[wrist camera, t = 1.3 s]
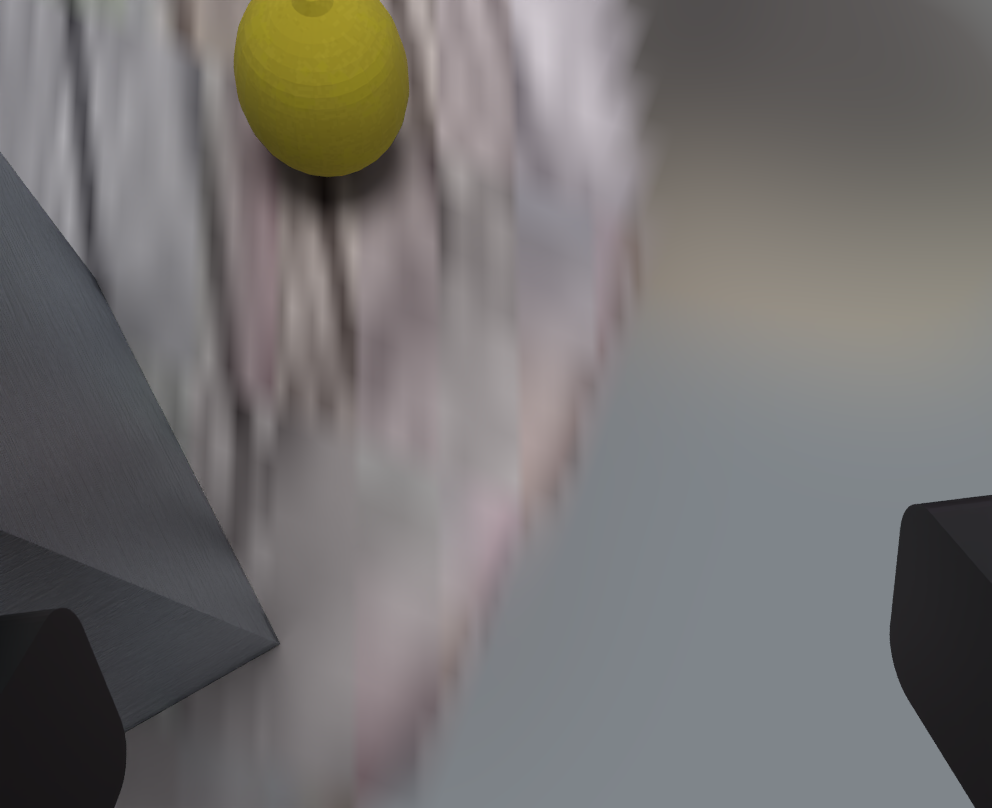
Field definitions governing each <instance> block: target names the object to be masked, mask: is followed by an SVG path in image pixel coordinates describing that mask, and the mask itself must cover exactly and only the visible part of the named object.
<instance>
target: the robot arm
mask: <svg viewBox="0 0 992 808" xmlns="http://www.w3.org/2000/svg"><path fill="white" fill-rule="evenodd" d="M890 646H891V653H892V658H893V663H894V667H895V670H896V673H897V676H898V679H899V682H900V684H901V687H902V689H903V691H904V693H905V695H906V696H907V698H908V700H909V702H910V703H911V705H912V707H913V708H914V709H915V711H916V713H917V715H918V716H919V718H920V719H921V721H922V723H923V724H924V726H925V728H926V729H927V731H928V732H929V734H930V735H931V737H932V739H933V740H934V742H935V744H936V745H937V747H938V749H939V750H940V752H941V753H942V755H943V757H944V758H945V760H946V761H947V763H948V764H949V766H950V768H951V770H952V771H953V773H954V774H955V776H956V778H957V779H958V781H959V782H960V784H961V785H962V787H963V789H964V791H965V792H966V794H967V795H968V797H969V799H970V800H971V802H972V803H973V805H974V807H975V808H992V495H987V496H979V497H970V498H962V499H955V500H947V501H938V502H930V503H922V504H914V505H911V506H909V507H908V508H907V509H906V511H905V513H904V515H903V518H902V521H901V528H900V537H899V546H898V555H897V565H896V575H895V585H894V594H893V604H892V614H891V622H890ZM125 768H126V739H125V732H124V728H123V724H122V721H121V718H120V716H119V714H118V711H117V709H116V706H115V704H114V701H113V699H112V696H111V694H110V692H109V689H108V687H107V684H106V682H105V679H104V677H103V674H102V672H101V670H100V667H99V665H98V662H97V660H96V657H95V655H94V652H93V650H92V648H91V645H90V643H89V640H88V638H87V635H86V633H85V630H84V628H83V626H82V624H81V622H80V620H79V618H78V617H77V616H76V614H75V613H74V612H72V611H71V610H69V609H67V608H56V609H48V610H40V611H32V612H24V613H16V614H8V615H0V808H114V807H115V804H116V801H117V799H118V796H119V794H120V791H121V788H122V784H123V780H124V775H125Z"/></svg>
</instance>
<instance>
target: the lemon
mask: <svg viewBox="0 0 992 808" xmlns="http://www.w3.org/2000/svg"><path fill="white" fill-rule="evenodd" d="M234 74H235V80H236V87H237V93H238V98H239V102H240V105H241V108H242V110H243V112H244V114H245V116H246V118H247V120H248V122H249V125H250V127H251V129H252V131H253V132H254V134H255V135H256V137H257V138H258V139H259V140H260V141H261V143H262V144H263V145H264V146H265V147H266V148H267V149H268V150H269V151H270V153H271V154H272V155H273V156H275V157H276V158H278V159H279V160H281V161H282V162H283V163H285V164H286V165H288V166H289V167H291V168H293V169H296V170H299V171H301V172H304V173H307V174H310V175H316V176H323V177H333V176H344V175H347V174H351V173H354V172H357V171H360V170H361V169H363V168H365V167H367V166H368V165H370V164H372V163H373V162H375V161H376V160H377V159H378V158H379V157H380V156H381V155H382V154H383V153H384V152H385V151H386V150H387V149H388V148H389V147H390V146H391V144H392V143H393V141H394V139H395V137H396V136H397V134H398V132H399V130H400V128H401V126H402V123H403V120H404V116H405V111H406V107H407V103H408V97H409V80H408V66H407V59H406V54H405V51H404V47H403V44H402V42H401V39H400V37H399V34H398V31H397V29H396V26H395V23H394V21H393V19H392V17H391V16H390V14H389V13H388V11H387V10H386V9H385V7H384V6H383V5H382V3H381V2H380V1H379V0H251V2H250V3H249V4H248V7H247V9H246V11H245V13H244V15H243V17H242V19H241V22H240V24H239V27H238V32H237V39H236V45H235V53H234Z"/></svg>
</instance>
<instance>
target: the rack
mask: <svg viewBox="0 0 992 808" xmlns="http://www.w3.org/2000/svg"><path fill="white" fill-rule="evenodd" d="M56 608H67V609H69V610H71V611H72V612H74V613H75V614H76V616H77V617H78V618H79V620H80V622H81V624H82V626H83V628H84V630H85V633H86V635H87V638H88V640H89V643H90V645H91V648H92V650H93V652H94V655H95V657H96V660H97V662H98V665H99V667H100V670H101V672H102V674H103V677H104V679H105V682H106V684H107V687H108V689H109V692H110V694H111V696H112V699H113V701H114V704H115V706H116V709H117V711H118V714H119V716H120V718H121V721H122V724H123V728H124V732H126V731H128V730H130V729H131V728H133V727H135V726H137V725H138V724H140V723H142V722H144V721H145V720H147V719H149V718H151V717H153V716H154V715H156V714H158V713H160V712H161V711H163V710H165V709H167V708H168V707H170V706H172V705H174V704H175V703H177V702H179V701H181V700H182V699H184V698H186V697H188V696H189V695H191V694H193V693H195V692H196V691H198V690H200V689H202V688H203V687H205V686H207V685H209V684H210V683H212V682H214V681H216V680H218V679H219V678H221V677H223V676H225V675H226V674H228V673H230V672H232V671H233V670H235V669H237V668H239V667H240V666H242V665H244V664H246V663H247V662H249V661H251V660H253V659H254V658H256V657H258V656H260V655H261V654H263V653H265V652H267V651H268V650H270V649H272V648H274V647H276V646H277V645H279V644H280V643H279V641H278V639H277V637H276V635H275V633H274V631H273V629H272V627H271V625H270V623H269V621H268V619H267V617H266V615H265V613H264V611H263V609H262V607H261V605H260V603H259V601H258V599H257V597H256V595H255V593H254V591H253V589H252V587H251V585H250V583H249V581H248V579H247V577H246V575H245V573H244V572H243V570H242V568H241V566H240V564H239V562H238V560H237V558H236V556H235V554H234V552H233V550H232V548H231V546H230V544H229V542H228V540H227V538H226V536H225V534H224V532H223V530H222V528H221V526H220V524H219V522H218V520H217V518H216V516H215V514H214V512H213V510H212V508H211V506H210V504H209V503H208V501H207V499H206V497H205V495H204V493H203V491H202V489H201V487H200V485H199V483H198V481H197V479H196V477H195V475H194V473H193V471H192V469H191V467H190V465H189V463H188V461H187V459H186V457H185V455H184V453H183V451H182V449H181V447H180V445H179V443H178V441H177V439H176V437H175V435H174V433H173V432H172V430H171V428H170V426H169V424H168V422H167V420H166V418H165V416H164V414H163V412H162V410H161V408H160V406H159V404H158V402H157V400H156V398H155V396H154V394H153V392H152V390H151V388H150V386H149V384H148V382H147V380H146V378H145V376H144V374H143V372H142V370H141V368H140V366H139V364H138V362H137V361H136V359H135V357H134V355H133V353H132V351H131V349H130V347H129V345H128V343H127V341H126V339H125V337H124V335H123V333H122V331H121V329H120V327H119V325H118V323H117V321H116V319H115V317H114V315H113V313H112V311H111V309H110V307H109V305H108V303H107V301H106V299H105V297H104V295H103V293H102V292H101V290H100V288H99V286H98V284H97V282H96V280H95V278H94V276H93V275H92V273H91V272H90V271H89V269H88V268H87V267H86V265H85V264H84V263H83V261H82V260H81V259H80V257H79V256H78V255H77V253H76V252H75V251H74V249H73V248H72V247H71V245H70V244H69V243H68V241H67V240H66V239H65V237H64V236H63V235H62V233H61V232H60V231H59V229H58V228H57V227H56V225H55V224H54V223H53V221H52V220H51V219H50V217H49V216H48V215H47V213H46V212H45V211H44V209H43V208H42V207H41V205H40V204H39V203H38V201H37V200H36V199H35V197H34V196H33V195H32V193H31V192H30V191H29V189H28V188H27V187H26V185H25V184H24V183H23V181H22V180H21V179H20V177H19V176H18V175H17V173H16V172H15V171H14V169H13V168H12V167H11V165H10V164H9V163H8V161H7V160H6V159H5V157H4V156H3V155H2V153H1V152H0V615H8V614H16V613H24V612H32V611H40V610H48V609H56Z"/></svg>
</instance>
